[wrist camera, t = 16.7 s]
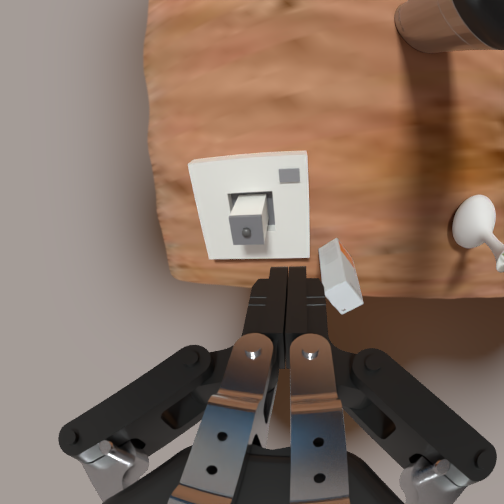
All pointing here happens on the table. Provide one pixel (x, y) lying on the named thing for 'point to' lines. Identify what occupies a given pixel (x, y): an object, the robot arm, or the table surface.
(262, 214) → the plug
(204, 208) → the socket plate
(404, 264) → the table surface
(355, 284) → the skincare box
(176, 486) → the robot arm
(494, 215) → the flower in vase
